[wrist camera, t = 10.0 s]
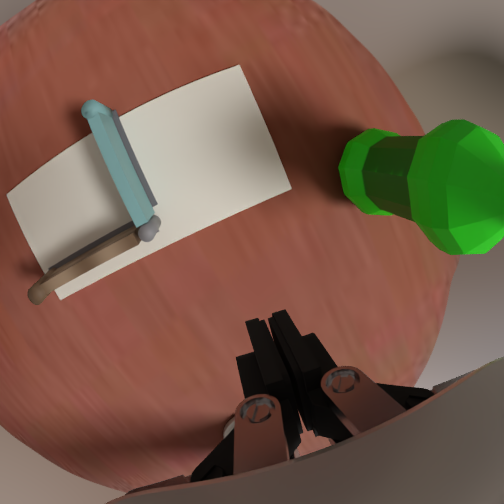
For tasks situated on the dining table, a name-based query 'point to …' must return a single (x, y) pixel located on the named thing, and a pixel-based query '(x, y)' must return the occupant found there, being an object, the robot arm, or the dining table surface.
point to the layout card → (154, 176)
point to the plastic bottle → (432, 182)
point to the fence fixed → (83, 264)
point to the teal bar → (121, 169)
